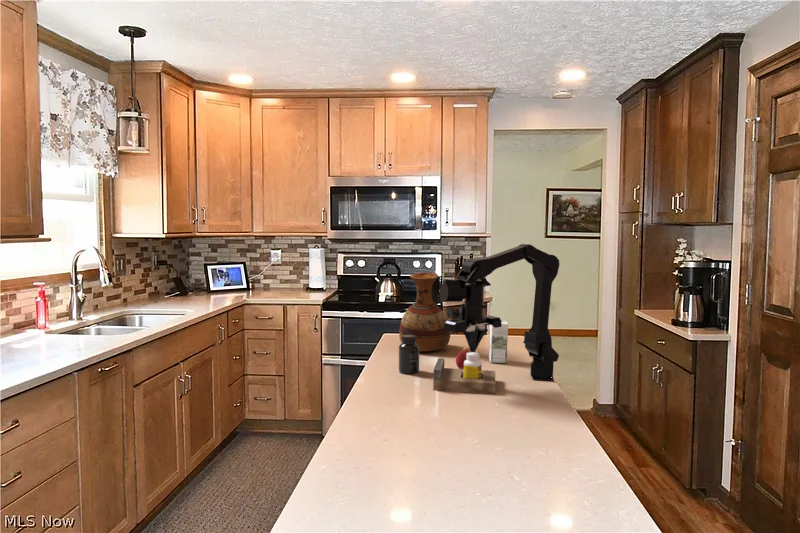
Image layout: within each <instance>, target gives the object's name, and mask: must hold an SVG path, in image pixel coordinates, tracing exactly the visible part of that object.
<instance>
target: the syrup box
mask: <svg viewBox="0 0 800 533" xmlns="http://www.w3.org/2000/svg"><path fill="white" fill-rule="evenodd" d="M501 321H502V322H501V327H497V328H495V327H493V325H489V340H488V360H489V363H490V364H507V363H508V340H509V338H508V337H509V335H508V334H509V324H508V322H507V321H506V320H501Z"/></svg>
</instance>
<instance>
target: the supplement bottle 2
mask: <svg viewBox="0 0 800 533" xmlns="http://www.w3.org/2000/svg"><path fill="white" fill-rule="evenodd" d="M468 352H469V351H468ZM466 358H467V360H465V361H464V373H463V378H469V379H481V370H482V368H483V367H482V365H483V363H482V361H481V360H480V359H481V355H480V353H479V352H476V351H475V352H471V351H470V352H469V353H467V354H466Z"/></svg>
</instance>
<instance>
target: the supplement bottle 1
mask: <svg viewBox="0 0 800 533" xmlns="http://www.w3.org/2000/svg"><path fill="white" fill-rule="evenodd" d="M416 341H417V340H416V335H403V336H402V343H401V342H400V344H399V345H398V371H399V373H401V374H405V375H414V374H415V375H416V374H418V373H419V372H420V351H419V345H418V344H417V343H416Z"/></svg>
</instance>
